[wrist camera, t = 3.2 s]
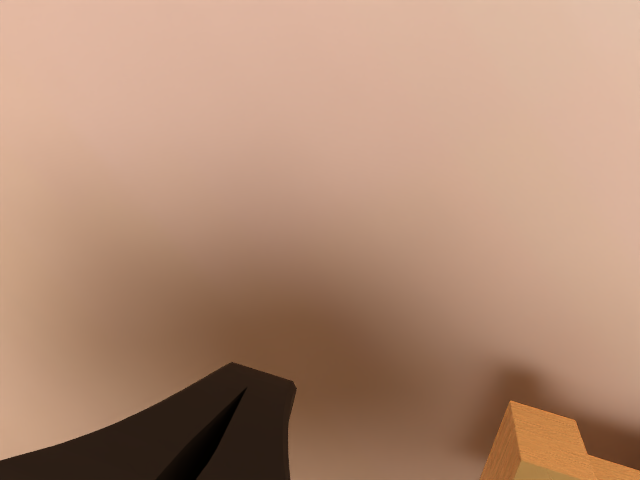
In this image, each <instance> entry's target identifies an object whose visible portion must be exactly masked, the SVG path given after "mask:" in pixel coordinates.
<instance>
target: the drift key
mask: <svg viewBox="0 0 640 480" xmlns="http://www.w3.org/2000/svg"><path fill="white" fill-rule="evenodd" d="M480 480H640V471H639V470H636V469H633V468H629V467H626V466H623V465H620V464H617V463H613V462H610V461H607V460H604V459H601V458H597V457H594V456H591V455H588V454H587V451H586V448H585V446H584V443H583V440H582V437H581V435H580V432H579V429H578V426H577V423H576V421H575V420H573V419H570V418H566V417H563V416H560V415H557V414H553V413H550V412H547V411H544V410H540V409H537V408H534V407H530V406H527V405H524V404H521V403H517V402H514V401H511V400H510V402H509V404H508V407H507V410H506V412H505V415H504V417H503V420H502V423H501V425H500V428H499V430H498V433H497V436H496V438H495V441H494V443H493V446H492V449H491V451H490V454H489V456H488V459H487V462H486V464H485V467H484V469H483V472H482V475H481V477H480Z"/></svg>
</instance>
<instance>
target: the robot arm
mask: <svg viewBox="0 0 640 480" xmlns="http://www.w3.org/2000/svg"><path fill="white" fill-rule="evenodd" d="M296 389H297V388H296V386H295V385H294V383H293V381H290V380H287V379H284V378H281V377H277V376H274V375H271V374H268V373H265V372H262V371H258V370H255V369H252V368H249V367H246V366H243V365H239V364H236V363H233V362H231V363H229V364H227V365H225V366H224V367H222V368H220V369H218V370H216V371H215V372H213V373H211V374H209V375H208V376H206V377H204V378H203V379H201V380H199V381H197V382H196V383H194V384H192V385H190V386H189V387H187V388H185V389H183V390H182V391H180V392H178V393H176V394H174V395H172V396H170V397H168V398H167V399H165V400H163V401H161V402H159V403H157V404H155V405H153V406H151V407H149V408H147V409H145V410H143V411H141V412H139V413H137V414H134V415H132V416H130V417H128V418H126V419H124V420H122V421H120V422H117V423H115V424H113V425H110V426H108V427H105V428H103V429H100V430H98V431H95V432H92V433H90V434H87V435H84V436H81V437H78V438H76V439H73V440H70V441H67V442H64V443H61V444H58V445H55V446H51V447H48V448H44V449H40V450H37V451H33V452H30V453H26V454H22V455H19V456H15V457H11V458H8V459H4V460H1V461H0V480H290V472H289V459H288V422H289V418H290V414H291V410H292V406H293V402H294V398H295V394H296Z"/></svg>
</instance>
